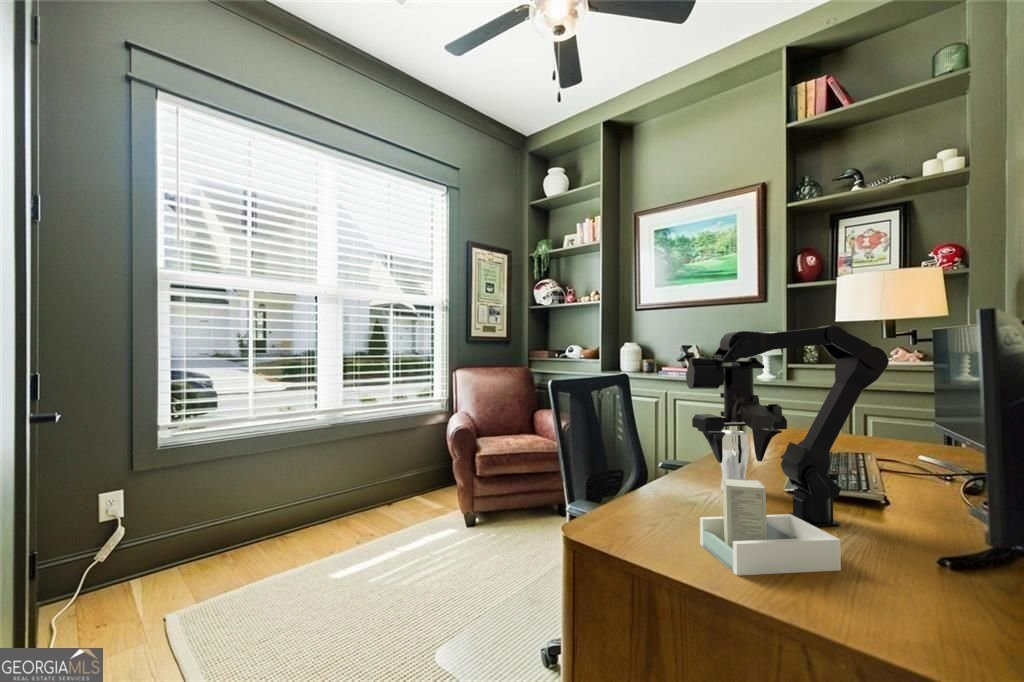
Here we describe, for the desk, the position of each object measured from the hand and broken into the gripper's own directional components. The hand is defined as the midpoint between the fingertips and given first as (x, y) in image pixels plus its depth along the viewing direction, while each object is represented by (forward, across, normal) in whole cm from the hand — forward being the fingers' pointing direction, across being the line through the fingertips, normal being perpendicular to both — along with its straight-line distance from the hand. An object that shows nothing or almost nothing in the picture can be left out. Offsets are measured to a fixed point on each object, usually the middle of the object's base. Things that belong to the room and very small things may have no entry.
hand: (739, 461), depth 92 cm
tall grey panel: (+11, -5, -17) cm, 21 cm away
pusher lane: (+12, -7, -17) cm, 22 cm away
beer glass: (+12, +10, +17) cm, 23 cm away
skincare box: (+11, -11, -17) cm, 23 cm away
